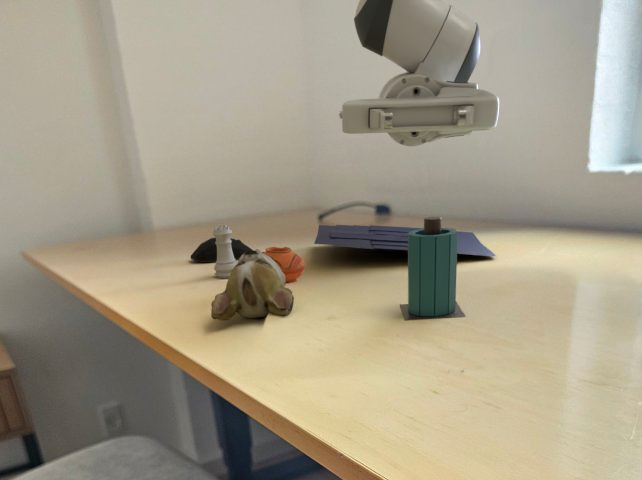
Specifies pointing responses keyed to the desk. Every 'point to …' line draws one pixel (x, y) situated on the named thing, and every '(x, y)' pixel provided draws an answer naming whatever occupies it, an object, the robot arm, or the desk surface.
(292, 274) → the pot
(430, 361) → the desk surface
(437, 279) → the teal grooved cylinder
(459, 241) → the papers
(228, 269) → the rook chess piece
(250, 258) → the ceramic sculpture
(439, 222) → the stand
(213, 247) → the gaming mouse
